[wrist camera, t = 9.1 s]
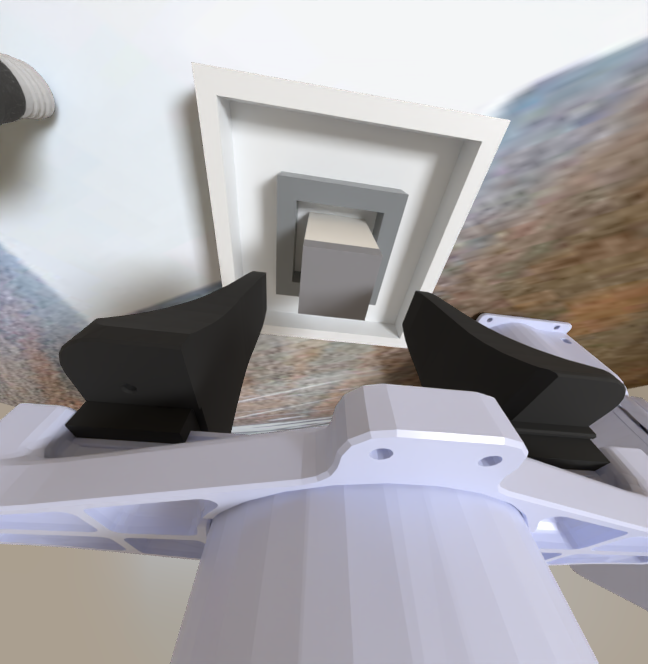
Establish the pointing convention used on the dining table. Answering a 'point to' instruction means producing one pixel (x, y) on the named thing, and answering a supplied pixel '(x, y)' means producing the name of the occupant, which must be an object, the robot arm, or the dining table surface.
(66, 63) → the dining table surface
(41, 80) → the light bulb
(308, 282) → the connector plug
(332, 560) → the robot arm
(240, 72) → the inlet box
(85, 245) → the dining table surface
